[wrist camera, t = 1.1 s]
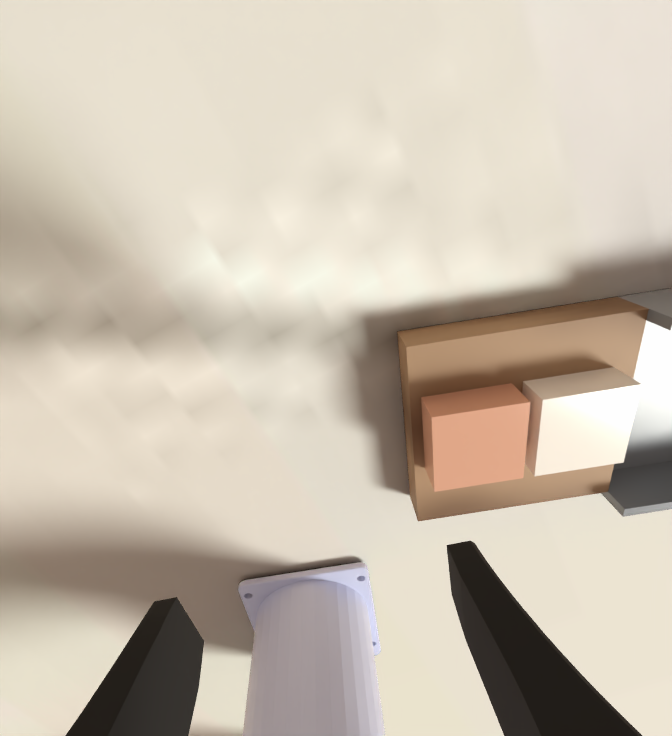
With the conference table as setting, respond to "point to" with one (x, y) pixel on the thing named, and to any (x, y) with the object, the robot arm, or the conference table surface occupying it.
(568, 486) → the walnut board
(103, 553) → the conference table surface
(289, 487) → the conference table surface
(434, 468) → the terracotta tile
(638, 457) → the slate tray
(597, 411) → the cream tile
